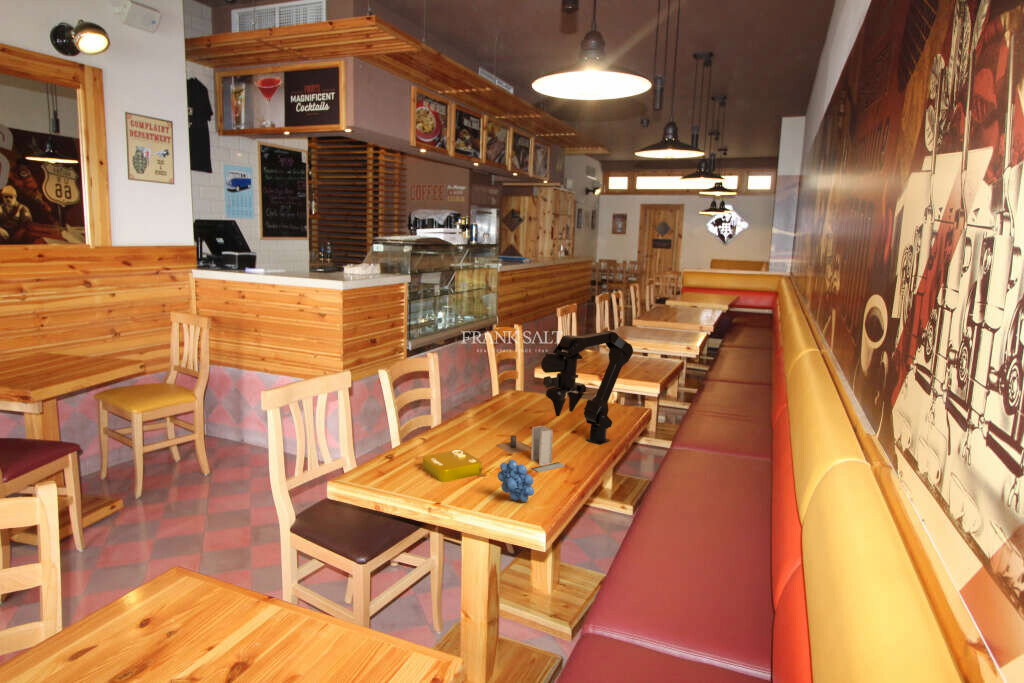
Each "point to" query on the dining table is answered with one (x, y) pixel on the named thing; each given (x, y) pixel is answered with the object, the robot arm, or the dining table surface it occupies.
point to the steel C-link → (542, 445)
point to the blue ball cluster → (516, 481)
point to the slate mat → (548, 467)
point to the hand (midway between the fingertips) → (564, 413)
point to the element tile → (452, 465)
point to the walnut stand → (514, 446)
